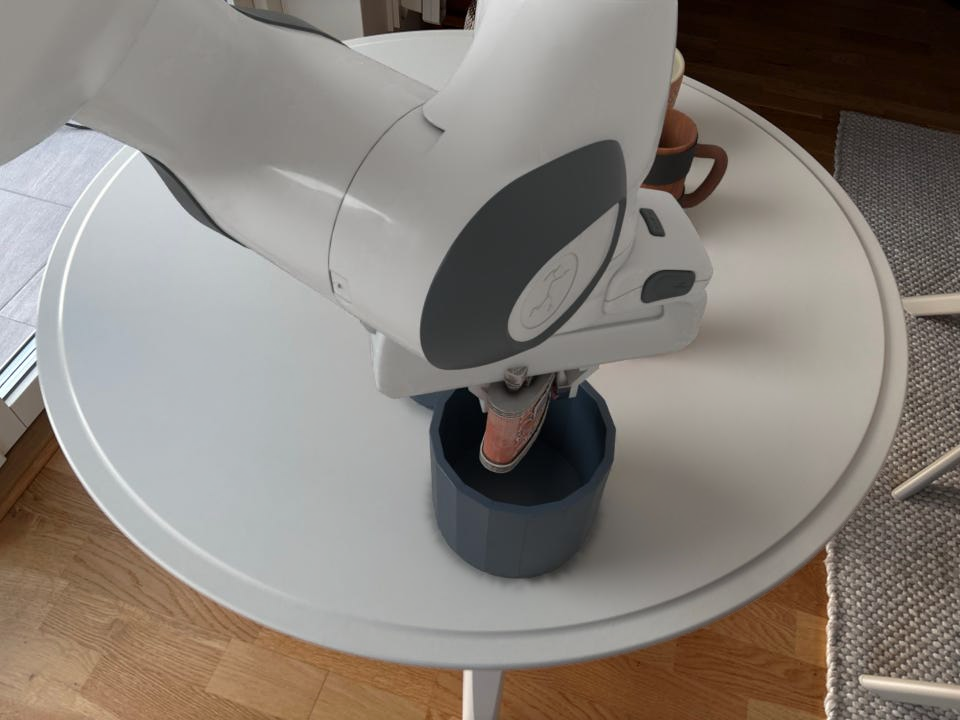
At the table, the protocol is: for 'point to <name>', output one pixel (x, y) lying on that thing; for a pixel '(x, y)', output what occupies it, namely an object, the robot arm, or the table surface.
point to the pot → (520, 484)
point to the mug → (683, 161)
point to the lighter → (514, 417)
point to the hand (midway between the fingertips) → (527, 396)
